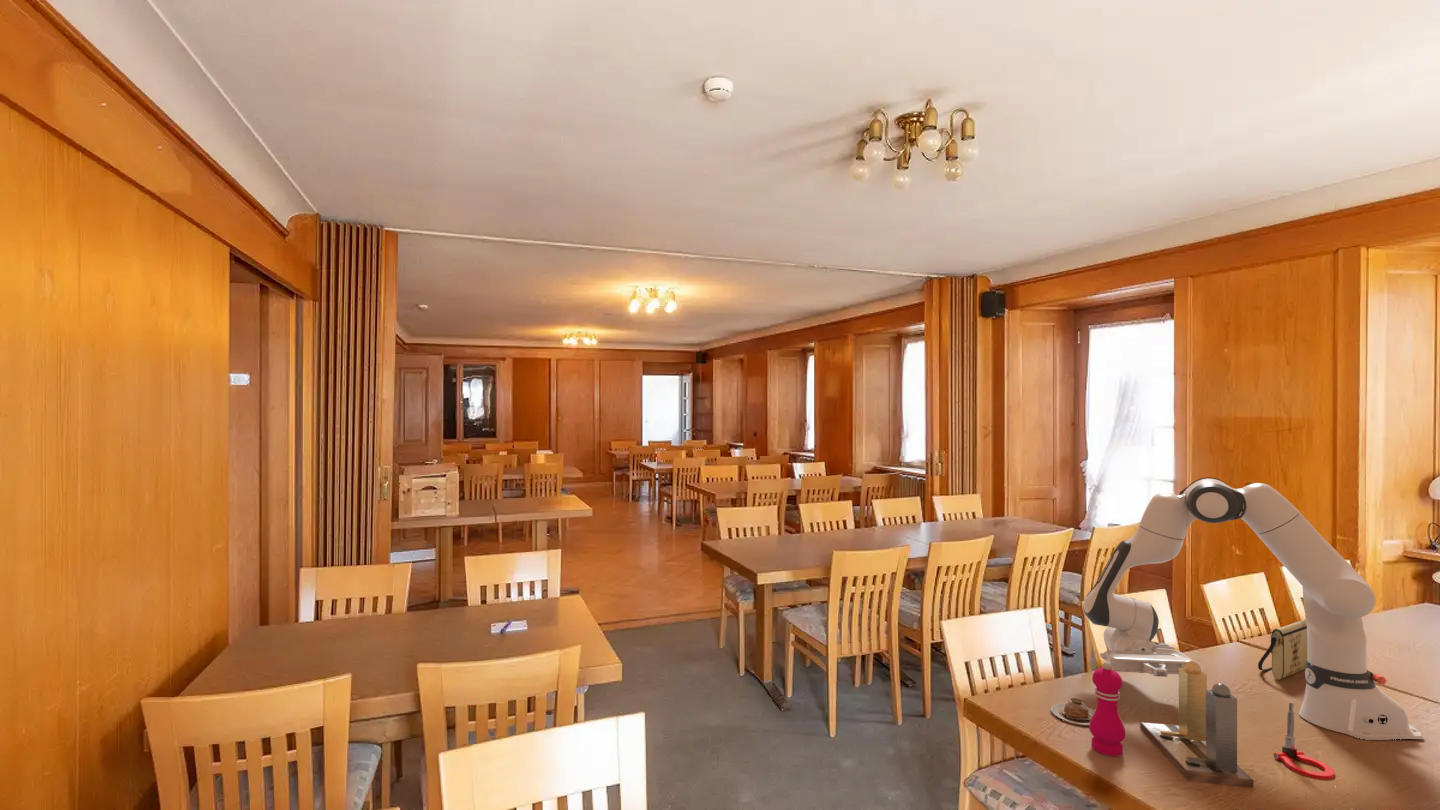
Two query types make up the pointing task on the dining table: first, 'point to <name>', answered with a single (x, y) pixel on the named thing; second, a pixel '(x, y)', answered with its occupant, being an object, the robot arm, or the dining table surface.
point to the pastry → (1073, 711)
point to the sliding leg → (1191, 703)
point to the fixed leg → (1220, 730)
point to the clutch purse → (1287, 650)
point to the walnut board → (1217, 776)
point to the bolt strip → (1179, 748)
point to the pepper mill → (1107, 712)
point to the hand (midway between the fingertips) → (1161, 673)
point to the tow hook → (1300, 753)
